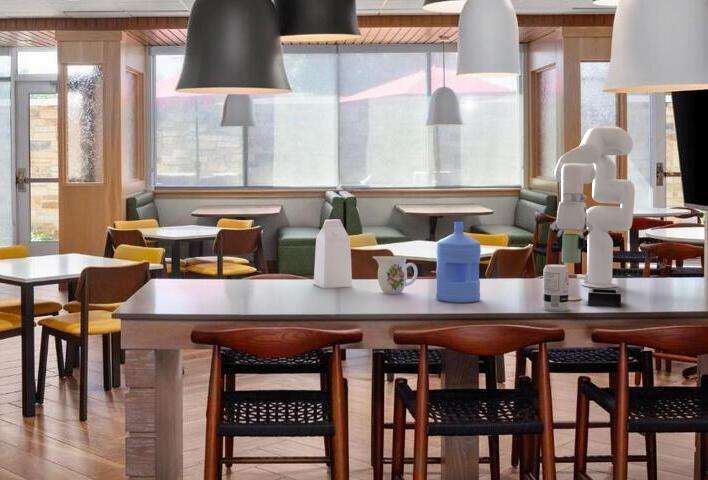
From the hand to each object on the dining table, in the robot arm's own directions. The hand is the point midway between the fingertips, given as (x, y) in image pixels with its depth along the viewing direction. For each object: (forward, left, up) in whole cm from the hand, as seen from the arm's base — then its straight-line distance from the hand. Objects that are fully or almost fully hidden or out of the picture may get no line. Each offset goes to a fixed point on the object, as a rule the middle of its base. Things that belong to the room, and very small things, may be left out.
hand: (571, 247), depth 349 cm
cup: (0, 0, -5) cm, 5 cm away
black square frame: (+13, -4, -19) cm, 23 cm away
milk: (-89, -21, -19) cm, 93 cm away
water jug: (-33, -25, -19) cm, 45 cm away
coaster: (-2, +1, -19) cm, 19 cm away
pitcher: (-60, -23, -19) cm, 67 cm away
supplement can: (+3, -25, -19) cm, 31 cm away
